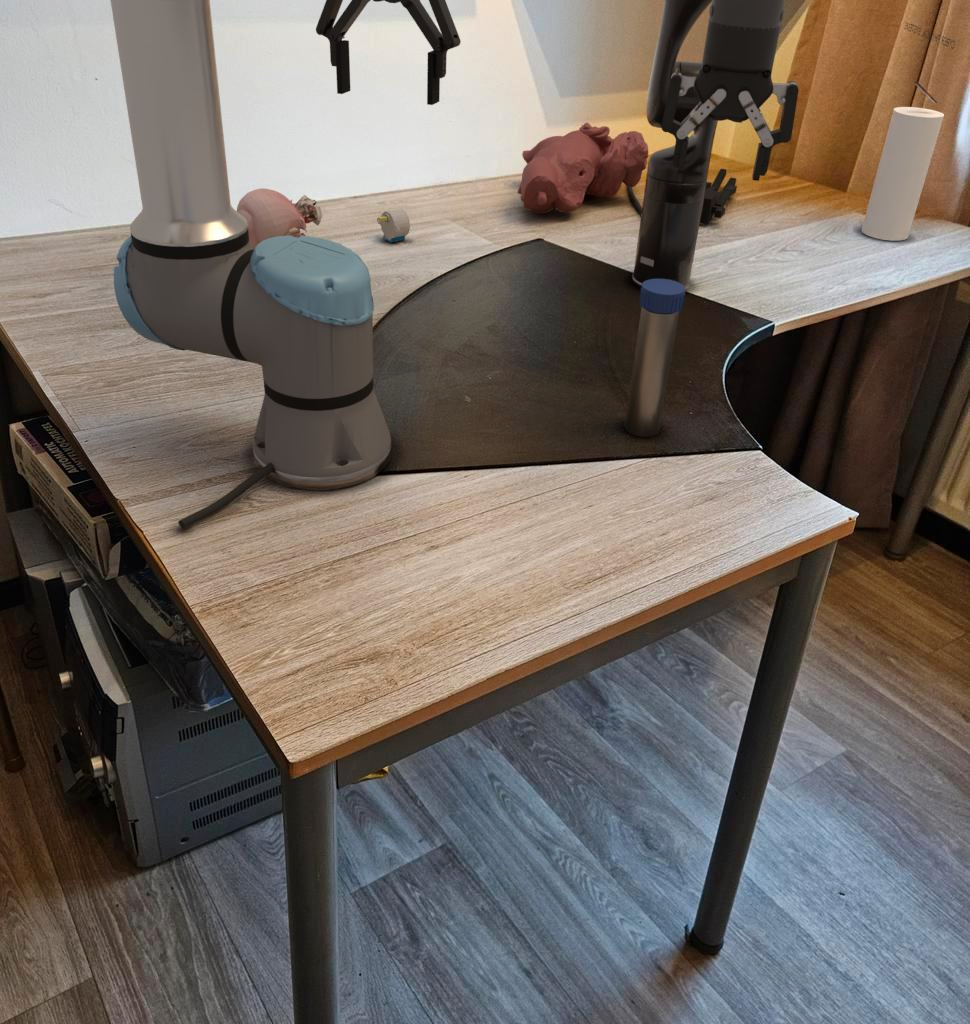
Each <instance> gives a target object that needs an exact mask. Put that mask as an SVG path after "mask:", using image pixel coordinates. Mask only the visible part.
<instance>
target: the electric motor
mask: <svg viewBox="0 0 970 1024" xmlns="http://www.w3.org/2000/svg"><path fill="white" fill-rule="evenodd" d="M376 222H377V224H378V225H380V227H381V231H382V233H383V238H384V240H385V241H388V242H389V243H394V242H395V243H396V242H399V241H404V240H405V238H406V236H407V235H409V233H410V229H411V222H410V218H409V216H408V213H407V212H406V210H404V209H403V208H397V209H392V210H387V211H384V212H383V213H382V214H381V216H378V217H377V218H376Z"/></svg>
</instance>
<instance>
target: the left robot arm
mask: <svg viewBox="0 0 970 1024" xmlns="http://www.w3.org/2000/svg"><path fill="white" fill-rule="evenodd" d="M343 1H344V0H325V3H324V5H323V8H322V11H321V13H320V16H319V19H318V22H317V24H316V27H315V33H316V34H317V35H318V36H323V37H324V38H326V39H327V40H328V42H329V54H330V56H329V57H330V65H331V67H335V70H336V71H335V72H336V94H339V95H343V94H346V93H349V92H351V67H350V66H351V63H350V41H349V40H345V38H346V36H345V35H347V33H348V31H349V30H350V29H351V27H352V26H353V24H354V23H355V21H356V20H357V19H358V18H359V16H360V14H361V13H362V12H363V10H364V9H365V8H366V6H367V5H368V4H369V3H370V2H371V1H372V2H377V3H380V2H384V1H385V2H387V3H389V4H398V3H400V4H401V5H402V7H403V8H405V9H406V10H407V12H408V13H409V15H410V17H411V18H412V20H413V21H414V22H415V24H416V26H417V27H418V29H419V31H420V32H421V33H422V35H423V36H424V38H425V39H426V40H427V43H428V44H429V46H430V47H431V48H432V50H431V51H428V52H427V74H426V75H427V79H426V80H427V85H426V87H427V88H426V105H429V106H433V105H435V104H438V103H440V93H441V92H440V91H441V90H440V89H441V87H440V86H441V83H440V81H441V79H443V78H445V77H446V74H447V54H448V51H449V50H451V49H454V48H457V47H459V46H460V45H461V42H462V41H461V38H460V35H459V33H458V30H457V27H456V24H455V22H454V19H453V17H452V14H451V11H450V9H449V7H448V4H447V1H446V0H428V2H429V5H430V8H431V10H432V13H433V15H434V18H435V21H436V23H437V25H438V26H437V25H436V23H435V22H434V20H433V19H432V17H431V15H429V13H428V11H427V9H426V8H425V6H424V5H423V3H422V2H421V0H351V1H350V2H349V3H348V5H347V6H346V8H345V9H344V11H343V12H342V14H341V15H340V16H339V18H338V19H337V17H338V14H339V12H340V9H341V6H342V4H343ZM110 6H111V12H112V19H113V20H112V21H113V27H114V31H115V39H116V45H117V52H118V59H119V64H120V70H121V77H122V84H123V90H124V96H125V97H124V98H125V103H126V110H127V116H128V122H129V123H128V124H129V129H130V136H131V142H132V149H133V156H134V161H135V169H136V175H137V180H138V187H139V194H140V199H141V206H142V210H141V211H140V212H139V214H138V215H137V216H136V217H135V218H134V220H133V221H132V222H131V224H130V225H129V232H130V236H128V237H127V238H126V239H125V240H124V241H123V243H122V244H121V246H120V247H119V249H118V252H117V256H116V260H117V261H118V265H117V266H114V268H113V288H114V294H115V298H116V302H117V305H118V307H119V310H120V312H121V315H122V316H123V318H124V319H125V321H126V323H127V324H128V325H129V327H130V328H131V329H133V331H134V332H136V333H137V334H138V335H139V336H141V337H143V338H144V339H145V340H148V341H150V342H154V343H157V344H161V345H164V346H167V347H169V348H171V349H174V350H178V351H191V352H197V353H202V354H207V355H211V356H216V357H222V358H226V359H231V360H236V361H242V362H248V363H251V364H252V363H253V364H257V365H259V366H261V370H262V379H263V388H264V390H263V391H264V396H263V400H262V404H261V408H260V412H259V415H258V419H257V423H256V427H255V430H254V434H253V439H252V441H253V442H252V455H253V460H254V464H255V467H256V468H257V471H256V472H255V473H252V475H250V476H249V477H247V478H246V479H244V480H243V481H242V482H240V483H239V484H238V485H237V486H235V487H234V488H233V489H232V490H230V491H229V492H228V493H226V494H225V495H223V496H222V497H220V498H219V499H217V500H216V501H214V502H212V503H211V504H208V505H207V506H206V507H203V508H202V509H200V510H198V511H196V512H194V513H192V514H189V515H187V516H185V517H183V518H181V519H179V520H178V526H179V527H180V528H181V529H182V530H184V529H186V528H188V527H190V526H192V525H194V524H196V523H198V522H200V521H202V520H204V519H206V518H208V517H210V516H212V515H214V514H215V513H217V512H219V511H221V510H222V509H224V508H225V507H226V506H228V505H230V504H231V503H233V502H234V501H235V500H237V499H238V498H239V497H240V496H241V495H243V494H244V493H245V492H247V491H248V490H249V489H251V488H253V486H255V485H256V484H258V483H259V482H260V481H262V480H263V479H265V478H268V479H269V480H271V481H273V482H275V483H278V484H280V485H283V486H286V487H290V488H295V489H301V490H312V491H314V490H315V491H323V490H327V491H328V490H337V489H342V488H348V487H351V486H355V485H358V484H361V483H363V482H366V481H368V480H370V479H373V478H374V477H375V476H377V475H378V474H380V473H381V472H382V471H383V470H384V469H385V468H386V467H387V466H388V464H389V463H390V461H391V458H392V437H391V432H390V430H389V427H388V424H387V422H386V419H385V417H384V413H383V411H382V408H381V406H380V403H379V400H378V398H377V395H376V393H375V385H374V320H373V319H374V318H373V317H374V315H373V314H374V308H375V301H374V297H373V292H372V283H371V275H370V270H369V267H368V266H367V264H366V263H365V262H364V260H363V259H362V258H361V257H360V256H359V254H357V253H356V252H355V251H353V250H352V249H351V248H348V247H346V246H345V245H343V244H340V243H338V242H335V241H331V240H329V239H324V238H322V237H317V236H310V235H306V236H301V237H293V236H291V235H288V236H278V237H273V238H269V239H266V240H264V241H262V242H261V243H259V244H258V245H257V246H256V247H255V249H253V248H251V247H250V241H249V232H248V223H247V220H246V219H245V218H244V217H243V216H242V215H241V214H239V213H238V212H237V209H234V207H233V206H232V203H231V194H230V185H229V183H230V182H229V175H228V174H229V173H228V165H227V156H226V155H227V154H226V146H225V137H224V129H223V128H224V127H223V118H222V117H223V115H222V106H221V97H220V88H219V78H218V67H217V59H216V57H217V56H216V49H215V40H214V30H213V29H214V28H213V21H212V20H213V19H212V11H211V2H210V0H110ZM336 19H337V21H336Z"/></svg>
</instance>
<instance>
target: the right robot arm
mask: <svg viewBox="0 0 970 1024" xmlns="http://www.w3.org/2000/svg"><path fill="white" fill-rule="evenodd" d="M786 1H787V0H664V1H663V7H662V15H661V20H660V26H659V31H658V36H657V41H656V47H655V51H654V57H653V62H652V67H651V72H650V76H649V82H648V87H647V88H648V89H647V95H646V106H645V109H646V110H645V114H646V115H645V116H646V120H647V122H648V124H649V125H650V126H651V127H653V128H659V129H661V130H662V131H663V132H664V133H668V134H671V135H672V136H674V139H675V143H674V145H672V146H669V147H665V148H662V149H658V150H656V151H654V152H653V153H652V154H650V156H649V158H648V161H647V168H646V169H647V170H646V177H645V184H644V190H643V191H644V193H643V199H642V205H641V204H640V203H639V201H638V199H637V197H636V195H635V193H634V189H633V187H630V186H627V191H628V195H629V197H630V199H631V201H632V203H633V205H634V206H635V208H636V210H637V211H638V212H639V214H640V222H639V228H638V229H639V230H638V236H637V245H636V252H635V258H634V265H633V272H632V275H631V281H632V283H633V284H634V285H635V286H636V287H638V288H640V289H641V288H642V283H643V282H644V281H646V280H650V279H668V280H673V281H676V282H679V283H681V284H682V285H684V286H685V288H686V290H688V289H689V288H690V285H691V276H692V270H693V264H694V259H695V254H696V249H697V248H696V247H697V242H698V235H699V231H700V225H701V224H700V218H701V212H702V207H703V201H704V194H705V188H706V182H708V176H709V169H710V164H711V158H712V152H713V145H714V141H715V135H716V132H717V127H718V122H721V121H731V122H733V123H740V124H742V123H743V122H745V121H747V120H749V122H750V124H751V125H752V127H753V129H754V131H755V133H756V134H757V136H758V138H759V140H760V142H758V144H757V149H756V150H757V151H756V155H755V159H754V164H753V170H752V175H751V176H752V178H751V179H752V181H758V182H759V181H760V179H761V178H760V177H761V176H762V177H764V176H765V177H766V174H767V172H768V169H769V164H770V160H771V155H772V150H773V148H774V147H775V146H777V145H779V144H782V143H783V144H788V143H789V142H790V141H791V140H792V137H793V136H792V135H793V129H794V124H795V117H796V109H797V104H798V96H799V86H798V83H797V82H796V81H795V80H789V81H788V82H787V83H785V82H784V83H783V82H773V80H772V79H773V78H772V73H773V68H774V63H775V58H776V52H777V47H778V44H779V43H778V42H779V37H780V34H781V33H780V32H781V28H782V22H783V20H784V17H785V8H786V7H785V6H786V3H787V2H786ZM709 6H710V7H709ZM708 7H709V15H708V16H709V17H708V22H707V23H708V24H707V29H706V35H705V42H704V47H703V55H702V60H701V62H699V61H684V60H677V59H678V56H679V53H680V51H681V48H682V46H683V44H684V42H685V40H686V38H687V37H688V34H689V33H690V31H691V30H692V28H693V27H694V25H695V23H696V22H697V21H698V20H699V18H700V17H701V16H702V15H703V13H704V12H705V11H706V10H707V8H708ZM772 95H775V96H776V100H777V103H778V105H780V106H782V109H781V117H780V122H779V123H780V124H779V128H778V129H774V130H771V128H770V127H769V125H768V123H767V120H766V118H765V116H764V114H763V112H762V111H761V107H762V106H763V104H765V103H766V102H767V100H768V99H769V98H771V96H772ZM691 133H692V134H691ZM690 134H691V135H690ZM689 135H690V136H689Z"/></svg>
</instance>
